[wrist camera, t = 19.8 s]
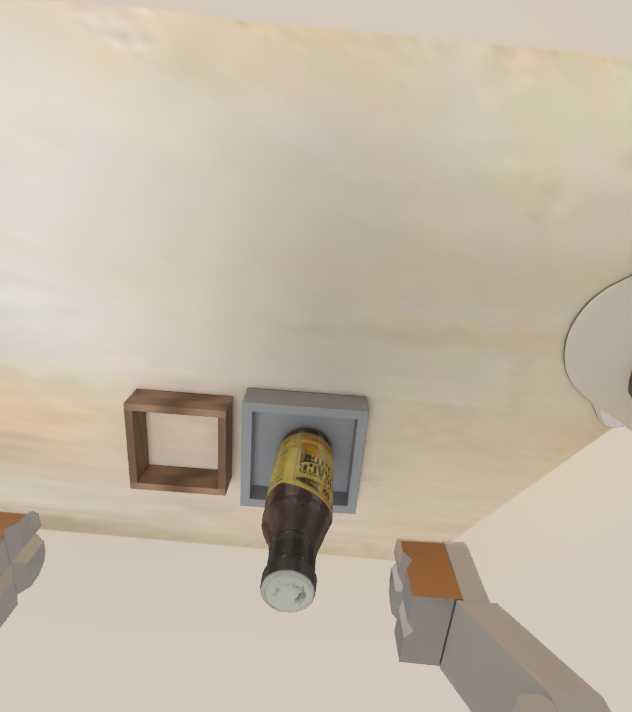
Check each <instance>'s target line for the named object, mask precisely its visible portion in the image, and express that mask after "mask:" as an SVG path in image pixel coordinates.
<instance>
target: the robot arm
mask: <svg viewBox="0 0 632 712" xmlns="http://www.w3.org/2000/svg"><path fill="white" fill-rule="evenodd" d="M565 366H566V371H567V374H568V376H569V378H570V380H571V382H572V384H573V385H574V387H575V388H576V389H577V390H578V391H579V392H580V393H581V394H582V395H584V396H585V397H586V398H587V399H588V400H589V401H590V402H591V403H592V404H593V406H594V409H595V412H596V414H597V416H598V418H599V420H600V421H601V422H602V423H604V424H605V425H607V426H609V427H626V428H627V429H629V430H630V431H632V276H630V277H628V278H626V279H624V280H622V281H620V282H618V283H616V284H614V285H612V286H610V287H609V288H607V289H605V290H604V291H602V292H601V293H600V294H598V295H597V296H596V297H595V298H594V299H592V300H591V301H590V302H589V303H588V304H587V305H586V306H585V308H584V309H583V310H582V311H581V313H580V314H579V315H578V317H577V318H576V320H575V322H574V323H573V325H572V327H571V329H570V332H569V334H568V337H567V341H566V346H565ZM40 527H41V522H40V518H39V514H38V513H36V512H34V511H27V510H17V509H7V508H0V627H1V626H2V624H3V623H4V622H5V621H6V619H7V618H8V617H9V615H10V614H11V612H12V611H13V610H14V608H15V607H16V606H17V604H18V602H17V594H19V593H21V592H22V591H24V590H26V589H27V588H29V587H30V586H31V585H32V584H33V583H34V581H35V580H36V578H37V577H38V575H39V573H40V571H41V568H42V566H43V563H44V558H45V546H44V541H43V540H42V539H41V538H40V537H39V536H38V535H37V534H36V532H37V531H38V529H39V528H40ZM394 554H395V559H396V564H395V565H394V566H393V567H392V568H391V574H390V588H389V594H390V605H391V612H392V614H393V615H394V616H395V617H396V619H397V621H396V626H395V638H396V644H397V650H398V655H399V661H400V662H409V663H417V664H428V665H437V666H440V669H441V670H442V672H443V673H444V674H445V676H446V677H447V679H448V680H449V681H450V683H451V684H452V685H453V687H454V688H455V690H456V691H457V692H458V694H459V695H460V696H461V698H462V699H463V701H464V702H465V703H466V705H467V706H468V707H469V709H470V710H471V712H611V711H610V709H609V708H608V706H607V704H606V702H605V700H604V698H603V697H602V696H601V695H599V693H597V692H596V691H595V690H594V689H593V688H592V687H590V685H588V684H587V683H586V682H585V681H584V680H583V679H582V678H580V677H579V676H578V675H577V674H576V673H575V672H574V671H573V670H571V669H570V668H569V667H568V666H567V665H566V664H565V663H564V662H562V661H561V660H560V659H559V658H558V657H556V655H554V654H553V653H552V652H551V651H550V650H549V649H548V648H547V647H545V646H544V645H543V644H542V643H541V642H540V641H539V640H537V639H536V638H535V637H534V636H533V635H532V634H531V633H530V632H529V631H527V630H526V629H525V628H524V627H523V626H522V625H521V624H520V623H518V622H517V621H516V620H515V619H514V618H513V617H512V616H511V615H509V614H508V613H507V612H506V611H505V610H504V609H503V608H502V607H500V606H499V605H498V604H497V603H490V601H489V600H488V597H487V594H486V592H485V589H484V587H483V584H482V582H481V579H480V577H479V574H478V572H477V569H476V567H475V564H474V562H473V559H472V557H471V554H470V552H469V549H468V547H467V545H466V544H465V543H463V542H449V541H441V542H440V541H428V540H413V539H397V542H396V545H395V551H394Z"/></svg>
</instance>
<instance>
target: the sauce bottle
mask: <svg viewBox="0 0 632 712" xmlns="http://www.w3.org/2000/svg"><path fill="white" fill-rule="evenodd" d="M332 510H333V452H332V450H331V445H330V443H329V441H328V439H327V438H326V437H325V436H324V435H322V434H321V433H319V432H317V431H314V430H312V429H306V428H304V429H300V430H295V431H292V432H290V433H289V434H288V435H287V436H286V437H285V438H284V439H283V441H282V443H281V444H280V446H279V448H278V452H277V455H276V460H275V464H274V468H273V473H272V476H271V480H270V484H269V489H268V493H267V497H266V502H265V511H264V513H263V519H262V530H263V535H264V538H265V540H266V543H267V544H268V546H269V558H268V563H267V566H266V568H265V569H264V572H263V574H262V580H261V586H260V589H261V595H262V598H263V600H264V601H265V602H266V603H267V604H268V605H269V606H271V607H272V608H273V609H275V610H278V611H281V612H291V613H292V612H297V611H300V610H303V609H305V608H306V607H307V606H309V605H310V604H311V603H312V601H313V599H314V596H315V591H316V583H317V578H316V574H315V559H316V556H317V552H318V550H319V548H320V546H321V544H322V542H323V540H324V537H325V535H326V533H327V531H328V529H329V527H330V525H331V523H332V513H333V511H332Z"/></svg>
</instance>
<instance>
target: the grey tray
mask: <svg viewBox="0 0 632 712" xmlns="http://www.w3.org/2000/svg"><path fill="white" fill-rule="evenodd" d="M368 413H369V411H368V405H367V400H366V397H360V396H348V395H335V394H322V393H309V392H296V391H283V390H270V389H257V388H248V389H247V392H246V395H245V397H244V400H243V407H242V455H241V503H240V505H241V506H254V507H265V502H266V497H267V493H268V489H269V484H270V480H271V476H272V473H273V468H274V464H275V460H276V455H277V452H278V448H279V446H280V444H281V443H282V441H283V439H284V438H285V437H286V436H287V435H288V434H289V433H290V432H292V431H295V430H300V429H304V428H306V429H312V430H314V431H317V432H319V433H321V434H322V435H324V436H325V437H326V438H327V439H328V441H329V443H330V445H331V450H332V452H333V510H332V511H333V512H334V513H347V514H355V513H356V505H357V497H358V490H359V482H360V474H361V467H362V459H363V452H364V444H365V436H366V429H367V421H368Z"/></svg>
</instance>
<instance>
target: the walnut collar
mask: <svg viewBox="0 0 632 712" xmlns="http://www.w3.org/2000/svg"><path fill="white" fill-rule="evenodd" d="M232 398H233V396H220V395H207V394H194V393H181V392H169V391H156V390H143V389H136V391H135V392H134V393H133V394H132V395H131V396H130V397H129V398H128V399H127V400H126V401H125V402H124V414H125V426H126V438H127V450H128V462H129V474H130V487H131V488H132V489H146V490H159V491H172V492H185V493H199V494H212V495H226V492H227V489H228V486H229V483H230V480H231V477H232ZM146 412H155V413H168V414H181V415H194V416H207V417H218V470H211V469H198V468H185V467H172V466H158V465H149V459H148V443H147V427H146Z"/></svg>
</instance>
